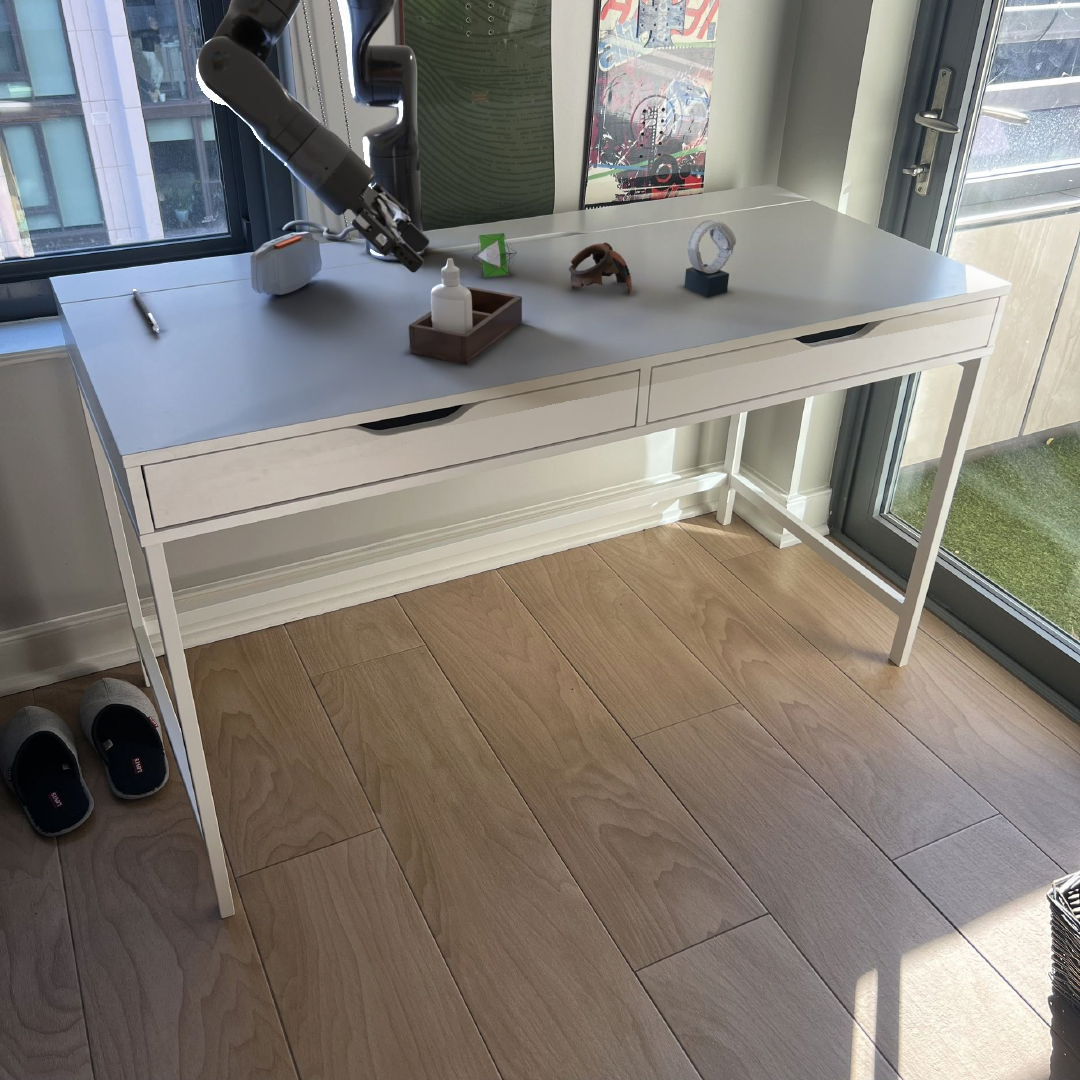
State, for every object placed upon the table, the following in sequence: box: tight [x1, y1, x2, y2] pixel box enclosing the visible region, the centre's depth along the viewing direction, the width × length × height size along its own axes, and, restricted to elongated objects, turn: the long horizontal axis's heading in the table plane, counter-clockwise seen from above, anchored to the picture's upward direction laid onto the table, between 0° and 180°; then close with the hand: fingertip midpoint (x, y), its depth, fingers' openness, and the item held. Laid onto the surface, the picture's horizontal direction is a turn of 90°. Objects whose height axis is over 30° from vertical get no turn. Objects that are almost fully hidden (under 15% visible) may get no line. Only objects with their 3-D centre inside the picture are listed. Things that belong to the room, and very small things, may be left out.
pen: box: [132, 288, 160, 333], centre depth 160 cm, size 1×19×1 cm, turn 27°
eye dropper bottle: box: [430, 257, 472, 334], centre depth 147 cm, size 4×6×12 cm
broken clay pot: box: [568, 242, 633, 295], centre depth 171 cm, size 12×10×8 cm
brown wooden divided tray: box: [408, 286, 523, 365], centre depth 153 cm, size 9×17×4 cm, turn 155°
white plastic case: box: [250, 231, 323, 296], centre depth 168 cm, size 14×3×8 cm, turn 150°
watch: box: [683, 219, 737, 298], centre depth 169 cm, size 6×8×11 cm
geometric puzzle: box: [470, 232, 518, 278], centre depth 175 cm, size 7×7×8 cm
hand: (422, 257), depth 144 cm, fingers open, 8 cm apart
